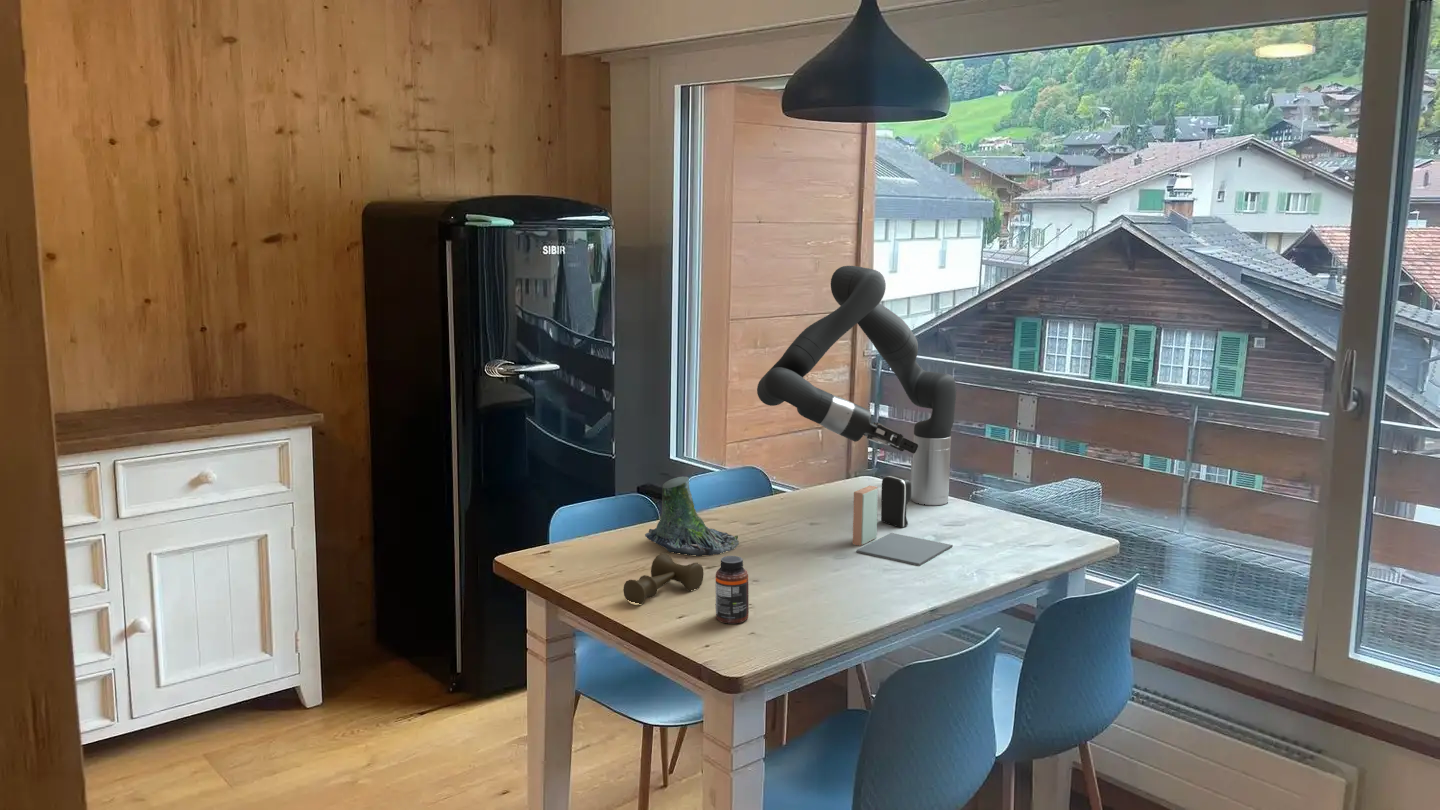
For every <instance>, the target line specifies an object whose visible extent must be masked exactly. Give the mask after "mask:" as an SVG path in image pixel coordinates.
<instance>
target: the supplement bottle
mask: <svg viewBox="0 0 1440 810" xmlns="http://www.w3.org/2000/svg"><path fill="white" fill-rule="evenodd" d="M749 601H750V600H749V572H748V570H747V569H746V568H744V559H743V558H742V557H741V556H737V555H725V556H722V557H721V558H720V567H719V569H717V571H716V572H715V605H714V606H715V618H716V620H717V621H719V622H720V621H721V623H723V624H727V623H728V624H729V625H732V624H734V625H735V624H741V623H745V621H746V620H748V618H749V608H750V607H749V605H750V604H749ZM728 624H727V625H728Z"/></svg>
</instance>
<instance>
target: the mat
mask: <svg viewBox="0 0 1440 810" xmlns="http://www.w3.org/2000/svg"><path fill="white" fill-rule="evenodd" d="M952 548H953V544H950V543H946V542H945V543H944V542H938V541H935V540H930V539H924V538H920V537H915V536H908V535H904V534H900V533H894V532H889V533H888V534H886V535H884V536H882V537H880V538H878V539H875V540H873V541H871V542H869V543H868V544H865V545H864V546H861V547H860V548H857V549H856V553H857V554H864V555H868V556H873V557H876V556H877V557H876V558H882V559H886V560H890V561H895V562H901V563H904V562H905V564H909V565H913V564H915V566H918V565H919V567H920V566H922V565H924V564H925V563H927V562H929V561H931V560H932V559H934V558H936V557H938V556H940V555H941V554H943V553H944V551H945V552H946V551H948V550H950V549H952ZM937 555H938V556H937ZM935 556H936V557H935ZM930 559H931V560H930ZM928 560H929V561H928ZM923 563H924V564H923ZM921 564H922V565H921Z"/></svg>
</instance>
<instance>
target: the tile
mask: <svg viewBox="0 0 1440 810" xmlns="http://www.w3.org/2000/svg"><path fill="white" fill-rule="evenodd" d="M878 494H879V489H878V486H876V485H875V486H873V485H868V486H865V487H862V488H860V489H857V490H856V491H854V492H853V515H852V516H853V519H852V545H854V544H855V545H854V546H858V545H859V547H862V546H863V544H864V545H867V543H868V544H869V543H870V542H873V541H875V540H877V535H878V533H877V529H878V503H879V502H878V501H879V500H878V498H879V497H878V496H879V495H878ZM869 541H870V542H869ZM861 545H862V546H861Z"/></svg>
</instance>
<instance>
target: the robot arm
mask: <svg viewBox="0 0 1440 810" xmlns="http://www.w3.org/2000/svg"><path fill="white" fill-rule="evenodd" d="M830 289H831V294H832V297H833V298H834V300H835V302H836V303H837V304H838V305H839V307H837V309H835V310H834V311H832V312H831V313H829V314H828V315H825V316H824V317H822V318H820V319H819V320H816V321H815V322H813V323H812V324H810V325H809V326H807V327H806V328H804V329H803V331H801V332H800V333H799V334H798V336H797V337H796V338H795V339H794V340H793V341H792V343H790V345H789V346H788V347H787V349H786V350H785V352H784V353H783V354H782V356H781V357H780V358H779V359H778V360H777V361H776V363H774V365H773V366H772V367H771V368H769V369H768V371H767V372H766V373H765V374H764V375H763V376H762V377H761V378H760V380H759V382H758V384H757V386H756V387H757V388H756V394H757V396H758V399H759V401H761V403H763V404H764V405H767V406H771V407H772V406H774V407H775V406H779V405H781V404H782V403H784V402H785V403H788V404H789V405H791V406H792V407H795V408H796V410H797V413H798V414H799V415H800V416H801V417H803V418H805V419H807V420H809V421H811V422H814V423H816V424H818V425H820V426H822V427H824V428H825V429H827V430H829V431H831V432H832V433H834V434H836V435H837V434H838V435H839V436H841V437H843V438H846V439H848V440H850V441H852V442H855V443H856V442H859V441H860V440H861V439H862V438H863V437H866V440H869V441H871V442H874V443H877V444H880V445H884V446H889V447H891V448H893V449H895V450H898V451H900V452H904V451H907V452H909V453H911V454H912V456H913V457H912V461H911V463H910V483H911V501H912V502H913V503H916V504H918V503H919V504H920V505H924V504H925V506H942V505H946V504H948V503H949V493H950V492H949V489H950V473H951V472H950V469H951V443H952V436H951V435H952V428H953V425H954V421H955V410H956V399H957V383H956V380H955V377H953V375H952V374H949V373H943V372H936V371H928V370H924V369H923V368H922V367H921V366H920V364H919V363H918V361H917V358H918V357H917V356H918V353H919V352H918V351H919V342H918V339H917V337H916V336H915V334H914V332H913V331H912V330H911V328H910V327H909V326H908V324H907V323H906V322H905V320H903V319H902V318H901V317H900V316H898V315H897V314H896V313H894V312H893V311H892V310H890V309H889V308H887V307H886V306H885V305H883V304H882V303H881V302H882V300H883V298H884V295H885V294H886V289H887V288H886V280H885V277H884V275H883V274H882V273H881V272H880V271H878V270H876V269H873V268H868V267H863V266H859V265H858V266H855V265H844V266H840V267H838V268H837V269H835V271H834V272H833V274H832V275H831V278H830ZM856 325H858V327H859V328H860V329H861V331H862V332H863V333H864V335H865V336H866V337H867V339H869V340H870V342H871V344H872V345H873V346H874V348H875V349H876V351H877V352H878V353H879V355H880V356H881V357H882V359H883V360H884V361H885V362H886V363H887V365H888V366H889V367H890V369H891V371H892V372H893V374H894V375H895V376H896V378H897V379H898V381H899V382H900V384H901V385H902V388H903V390H904V392H905V394H906V396H907V397H908V399H909V400H910V401H911V403H912V404H914V405H915V406H917V407H920V408H925V409H931V416H930V417H929V418H927V419H924V420H920V421H918V422H916V423H915V424H914V426H913V441H912V440H910V439H907V438H905V436H904V435H903V434H901V433H898V432H896V431H895V430H893V429H891V428H889V427H886V426H885V425H883V423H879V422H874V421H873V423H871V418H872V412H871V410H870V409H867V408H865V407H863V406H862V405H861V406H860V405H858V404H856V403H854V402H852V401H850V400H848V399H846V398H843V397H840V396H837V395H834V394H832V393H830V392H828V391H825V390H823V389H821V388H819V387H817V386H815V385H813V384H812V383H811V382H809V381H808V380H807V379H806V378H804V377H805V376H806V375H808V374H809V373H810V372H811V371H812V370H813V369H814V367H815V366H816V365H817V364H818V362H819V361H820V360H821V359H822V358H823V357H824V356H825V354H826V353H827V352H828V351H829V350H830V348H832V346H834V344H835V343H837V341H838V340H839V339H841V338H842V337H843V336H844V335H846V333H847V332H849V331H850V330H851V329H852V328H853V327H855V326H856ZM947 502H948V503H947ZM919 504H918V505H919Z"/></svg>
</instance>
